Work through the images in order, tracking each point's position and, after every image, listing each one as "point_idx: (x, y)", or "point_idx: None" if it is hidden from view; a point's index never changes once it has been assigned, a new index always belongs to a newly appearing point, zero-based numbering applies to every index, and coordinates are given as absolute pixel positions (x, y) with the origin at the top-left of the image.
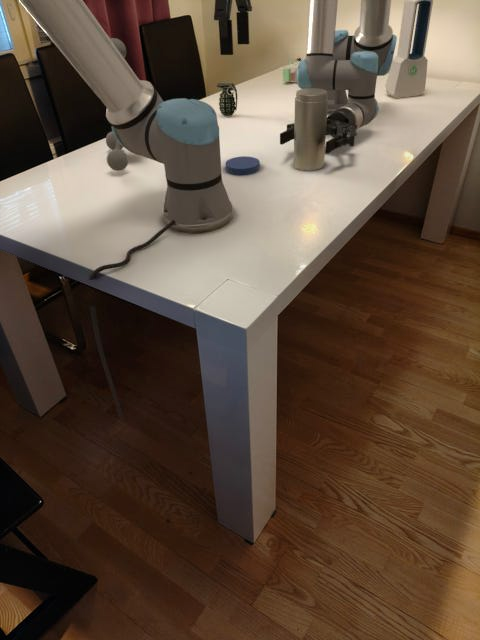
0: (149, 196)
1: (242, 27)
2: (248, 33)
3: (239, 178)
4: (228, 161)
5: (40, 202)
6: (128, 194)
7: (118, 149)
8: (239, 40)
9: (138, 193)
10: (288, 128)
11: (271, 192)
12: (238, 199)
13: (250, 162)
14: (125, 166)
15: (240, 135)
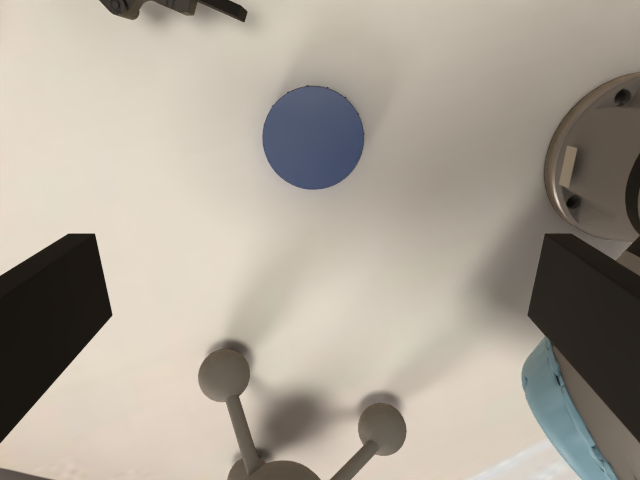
0: (505, 302)
1: (27, 347)
2: (34, 267)
3: (385, 126)
4: (312, 182)
5: (532, 469)
6: (495, 345)
7: (378, 444)
8: (95, 316)
9: (489, 329)
10: (133, 5)
11: (478, 3)
12: (524, 89)
13: (310, 115)
14: (385, 404)
15: (46, 221)
